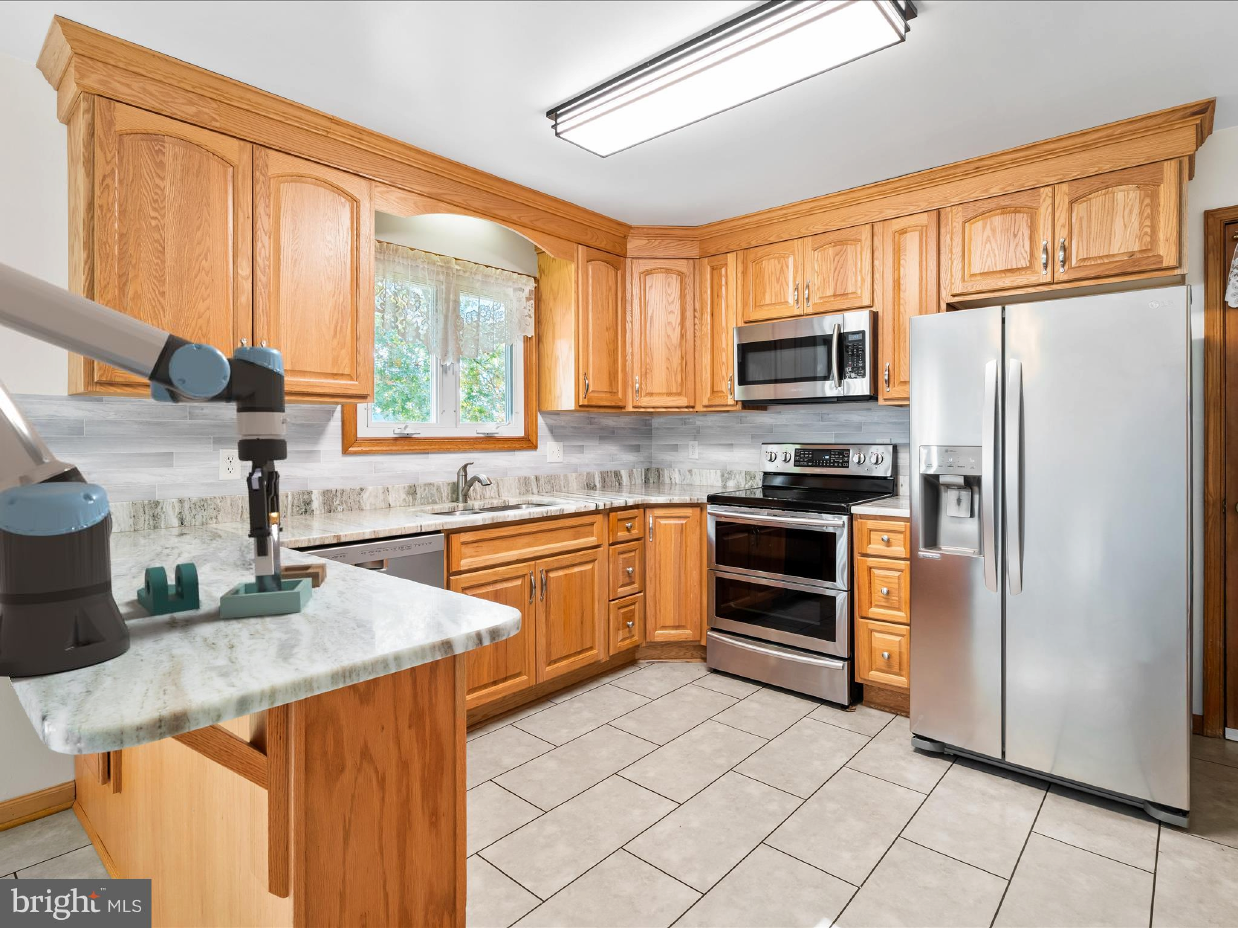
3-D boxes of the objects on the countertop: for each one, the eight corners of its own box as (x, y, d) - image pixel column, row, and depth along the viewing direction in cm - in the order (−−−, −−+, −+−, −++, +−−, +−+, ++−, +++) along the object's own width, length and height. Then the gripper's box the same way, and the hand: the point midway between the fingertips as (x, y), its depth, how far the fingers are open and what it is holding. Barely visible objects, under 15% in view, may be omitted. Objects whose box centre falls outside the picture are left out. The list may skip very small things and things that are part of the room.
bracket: (199, 609, 118) (197, 564, 118) (153, 617, 113) (151, 570, 113) (176, 594, 131) (174, 553, 131) (134, 600, 126) (132, 558, 126)
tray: (300, 611, 114) (299, 591, 114) (220, 618, 111) (219, 597, 110) (312, 596, 125) (311, 577, 125) (240, 602, 122) (239, 582, 122)
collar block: (319, 586, 134) (319, 571, 134) (263, 590, 131) (263, 575, 131) (326, 577, 144) (326, 562, 144) (274, 580, 141) (274, 566, 141)
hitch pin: (253, 596, 115) (250, 514, 115) (258, 591, 119) (255, 512, 119) (279, 594, 117) (275, 513, 116) (283, 589, 120) (280, 511, 120)
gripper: (275, 437, 110) (281, 580, 111) (295, 437, 126) (299, 562, 127) (223, 437, 108) (229, 583, 109) (250, 438, 124) (255, 565, 125)
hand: (267, 571), depth 118 cm, fingers closed on hitch pin, 4 cm apart
